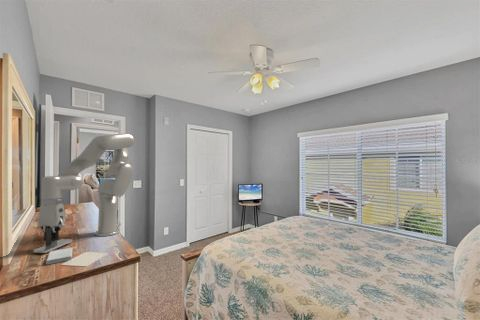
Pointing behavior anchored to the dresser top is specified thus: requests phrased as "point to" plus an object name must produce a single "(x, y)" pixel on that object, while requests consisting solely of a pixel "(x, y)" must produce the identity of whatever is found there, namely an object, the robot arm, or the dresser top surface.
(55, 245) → the scraper
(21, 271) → the dresser top surface
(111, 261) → the dresser top surface
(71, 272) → the dresser top surface
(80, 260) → the board
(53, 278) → the dresser top surface
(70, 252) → the hard drive
